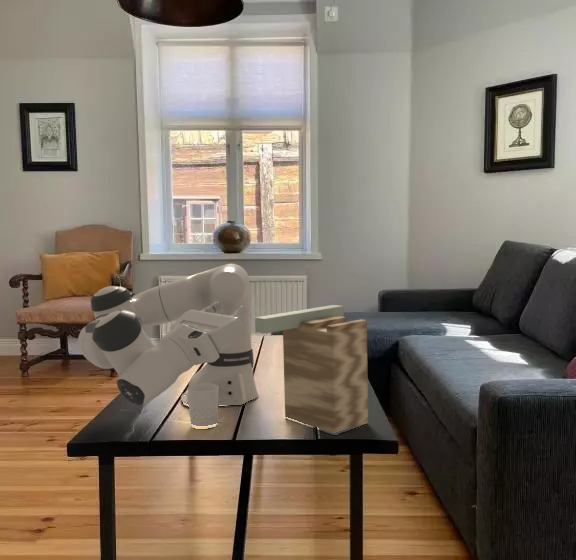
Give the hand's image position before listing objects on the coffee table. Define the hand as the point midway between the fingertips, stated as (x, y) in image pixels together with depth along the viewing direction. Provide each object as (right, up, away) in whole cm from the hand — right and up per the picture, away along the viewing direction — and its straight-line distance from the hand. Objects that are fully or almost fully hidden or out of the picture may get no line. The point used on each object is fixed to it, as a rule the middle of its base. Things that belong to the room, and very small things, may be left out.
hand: (231, 306), depth 139 cm
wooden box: (+22, -30, +20) cm, 43 cm away
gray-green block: (+16, -6, +18) cm, 25 cm away
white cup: (-9, -32, +19) cm, 38 cm away
